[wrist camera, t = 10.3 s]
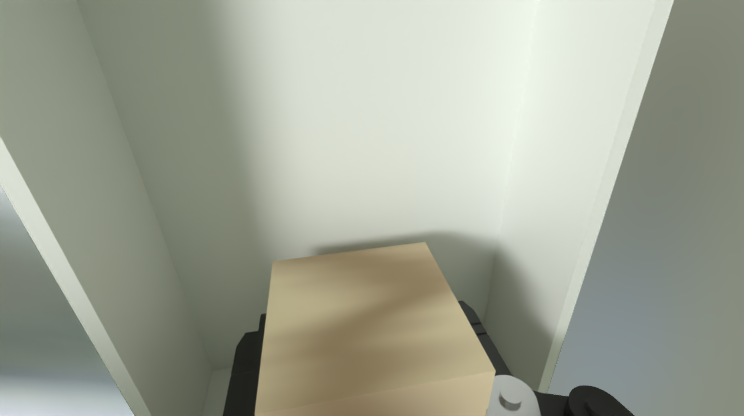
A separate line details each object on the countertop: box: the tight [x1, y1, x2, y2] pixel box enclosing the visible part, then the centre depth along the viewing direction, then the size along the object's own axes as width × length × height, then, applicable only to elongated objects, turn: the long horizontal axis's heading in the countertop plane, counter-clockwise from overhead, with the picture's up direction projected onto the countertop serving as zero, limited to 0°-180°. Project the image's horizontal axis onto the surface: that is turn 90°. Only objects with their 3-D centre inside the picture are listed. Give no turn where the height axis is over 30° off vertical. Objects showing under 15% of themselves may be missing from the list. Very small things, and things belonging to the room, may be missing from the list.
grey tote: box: [0, 0, 674, 416], centre depth 11 cm, size 17×13×5 cm
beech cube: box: [255, 242, 496, 416], centre depth 11 cm, size 5×5×5 cm
